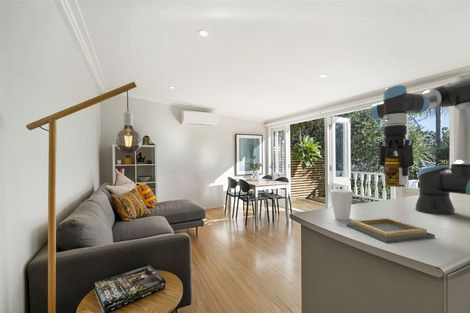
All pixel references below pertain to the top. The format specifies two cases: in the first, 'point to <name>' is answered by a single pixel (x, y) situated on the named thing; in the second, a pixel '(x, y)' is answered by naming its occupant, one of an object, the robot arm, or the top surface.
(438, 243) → the top surface
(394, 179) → the condiment
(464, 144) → the robot arm
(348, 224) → the wooden rimmed tray
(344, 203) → the foam cup
